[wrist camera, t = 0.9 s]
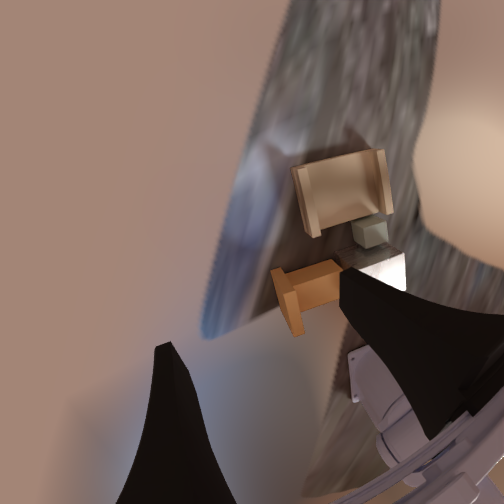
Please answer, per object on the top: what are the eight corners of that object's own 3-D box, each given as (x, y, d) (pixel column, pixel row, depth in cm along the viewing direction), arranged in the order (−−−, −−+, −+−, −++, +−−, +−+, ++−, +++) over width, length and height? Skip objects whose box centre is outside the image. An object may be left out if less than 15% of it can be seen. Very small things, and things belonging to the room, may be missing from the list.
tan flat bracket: (381, 207, 29) (393, 212, 27) (304, 231, 29) (312, 238, 26) (371, 148, 27) (383, 149, 25) (290, 167, 26) (297, 169, 24)
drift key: (336, 290, 31) (357, 314, 26) (280, 309, 31) (294, 337, 26) (329, 251, 29) (352, 270, 25) (270, 270, 29) (283, 294, 24)
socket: (380, 291, 32) (392, 301, 30) (361, 298, 32) (372, 310, 30) (372, 214, 29) (386, 221, 27) (350, 221, 29) (363, 228, 26)
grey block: (380, 270, 31) (405, 289, 27) (339, 285, 31) (360, 308, 26) (377, 237, 30) (404, 253, 25) (333, 251, 30) (356, 270, 25)
